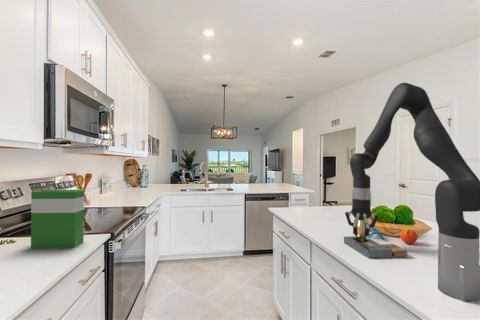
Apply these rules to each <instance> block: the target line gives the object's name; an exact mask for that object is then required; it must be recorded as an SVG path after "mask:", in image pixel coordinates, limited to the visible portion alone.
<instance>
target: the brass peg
mask: <svg viewBox="0 0 480 320" xmlns="http://www.w3.org/2000/svg"><path fill="white" fill-rule="evenodd" d="M356 241H357V242H366V224H365V220H358V222H357V224H356Z"/></svg>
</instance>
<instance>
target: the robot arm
mask: <svg viewBox="0 0 480 320" xmlns="http://www.w3.org/2000/svg"><path fill="white" fill-rule="evenodd" d="M400 109H403V110H405V111H407V112H408V113H409V114H410V116H411V117H412V119H413V120H414V128H413V139H414V141H415V144H416V146H417V148H418V150H419V152H420V153H421V154H422V155H423V156H424V158H426V159H427V160H428V161H429V162H430V163H432V164H434V165H435V166H436V167H438V168H439V169H440V170H441V171H442V172H444V173H445V175H446V176H447V177H448V178H449V179H446V180H442V181H439V183H438V184H437V186H436V188H435V192H434V205H435V208H434V209H435V220H436V225H437V226H438V243H437V244H438V246H437V247H438V248H437V249H438V250H437V252H438V253H437V266H438V267H437V289H438V290H439V291H440V292H441V293H442V294H445V295H447V296H449V297H452V298H455V299H458V300H460V301H463V302H469V301H470V302H472V301H473V302H474V301H480V228H479V227H478V226H477V225H474V224H472V223H470V222H467V221H466V220H465V216H464V212H465V213H466V212H468V213H469V212H473V213H474V212H480V179H479V178H478V176H477V175H476V173H474V171H473V170H472V169H471V167H470V166H469V165H468V163H467V162H466V161H465V159H464V158H463V156H462V155H461V153H460V151H459V150H458V148H457V147H456V144H454V141H453V139H452V137H451V135H450V134H449V132H448V131H447V129H446V127H445V126H444V125H443V123H442V122H441V119H440V118H439V116H438V115H437V113H436V112H435V109H434V108H433V106H432V103H431V100H430V98H429V95H428V93H427V92H426V90H425V89H424V88H423V87H420V86H418V85H414V84H412V83H408V82H401V83H399V84H397V85H396V86H395V87H394V88H393V90H392V91H391V92H390V94H389V96H388V99H387V101H386V102H385V105H384V107H383V109H382V112H381V113H380V115H379V118H378V120H377V122H376V124H375V125H374V128H373V129H372V131H371V132H370V134H369V135H368V137H367V138H366V140H365V141H364V143H363V148H364V152H363V153H358V152H357V153H354V154H353V155H352V156H351V157H350V159H349V167H350V171H351V175H352V195H351V200H352V201H351V202H352V203H351V204H352V206H351V210H350V211H345V213H344V214H345V218H346V220H347V223H348V226H351V227H352V234H353V235H354V236H356V224H357V222H358V220H365V224H366V237H367V238H368V236H369V234H370V229H372V228H375V226H376V223H377V221H378V218H379V215H378V214H377V213H373V212H372V209H371V207H372V203H371V200H372V193H371V192H372V191H371V176H370V175H368V174H366V170H369V169H370V168H372V167H373V165H374V164H376V161H377V159H378V157H379V154H380V151H381V150H382V148H383V147H384V146H385V145H386V143H387V142H388V141H389V138H390V135H391V132H392V125H393V124H392V123H393V119H394V118H395V115H396V114H397V113H398V111H399V110H400ZM351 215H352V216H353V217H354V220H353V222H352V220H351ZM370 217H371V218H372V220H371V223H370V225H369V224H368V223H369V218H370Z"/></svg>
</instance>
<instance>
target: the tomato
mask: <svg viewBox="0 0 480 320" xmlns="http://www.w3.org/2000/svg"><path fill="white" fill-rule="evenodd" d="M399 238H400V240H401V241H402V242H404V243H405V244H407V245H411V244H415V243H416V242H417V241H418V234H417V232H416V231H415V230H413V229H412V228H404V229H402V230H401V231H400V233H399Z"/></svg>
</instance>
